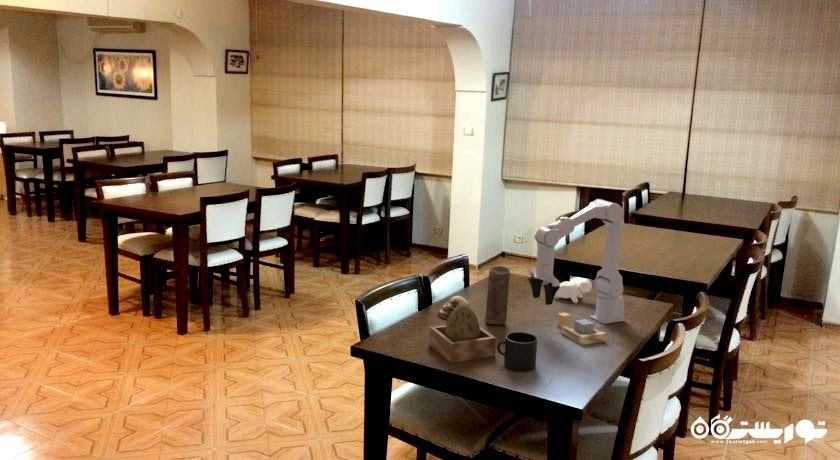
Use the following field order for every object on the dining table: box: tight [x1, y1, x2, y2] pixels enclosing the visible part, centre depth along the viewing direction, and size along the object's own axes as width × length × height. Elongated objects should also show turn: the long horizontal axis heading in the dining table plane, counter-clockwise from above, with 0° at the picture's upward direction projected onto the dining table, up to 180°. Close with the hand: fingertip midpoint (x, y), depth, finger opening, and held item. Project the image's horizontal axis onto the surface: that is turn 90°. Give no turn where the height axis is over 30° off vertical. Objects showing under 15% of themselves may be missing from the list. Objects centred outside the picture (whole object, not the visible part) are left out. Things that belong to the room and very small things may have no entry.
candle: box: [484, 265, 511, 326], centre depth 245 cm, size 8×7×20 cm
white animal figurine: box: [554, 279, 593, 304], centre depth 276 cm, size 9×8×15 cm
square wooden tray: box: [428, 324, 497, 364], centre depth 221 cm, size 15×15×6 cm
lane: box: [560, 326, 607, 346], centre depth 236 cm, size 10×12×3 cm
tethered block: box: [556, 312, 595, 335], centre depth 240 cm, size 4×15×6 cm, turn 24°
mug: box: [496, 331, 538, 373], centre depth 211 cm, size 9×12×9 cm
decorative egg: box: [445, 305, 481, 342], centre depth 220 cm, size 11×11×15 cm
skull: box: [438, 295, 471, 321], centre depth 254 cm, size 12×10×10 cm
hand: (542, 300), depth 241 cm, fingers open, 7 cm apart
